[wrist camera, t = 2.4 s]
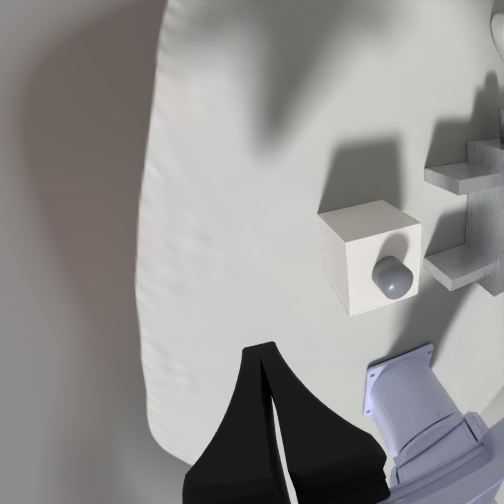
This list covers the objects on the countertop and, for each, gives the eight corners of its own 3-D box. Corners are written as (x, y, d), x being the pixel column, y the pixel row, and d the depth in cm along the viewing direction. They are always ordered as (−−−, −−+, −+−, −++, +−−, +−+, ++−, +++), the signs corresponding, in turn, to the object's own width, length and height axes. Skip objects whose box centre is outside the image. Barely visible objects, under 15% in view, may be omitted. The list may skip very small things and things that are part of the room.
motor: (503, 252, 24) (534, 273, 19) (422, 284, 24) (454, 316, 19) (507, 107, 17) (547, 114, 13) (417, 105, 17) (464, 107, 13)
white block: (383, 260, 22) (429, 306, 16) (324, 277, 22) (359, 331, 16) (381, 199, 20) (436, 232, 14) (316, 213, 20) (356, 254, 14)
